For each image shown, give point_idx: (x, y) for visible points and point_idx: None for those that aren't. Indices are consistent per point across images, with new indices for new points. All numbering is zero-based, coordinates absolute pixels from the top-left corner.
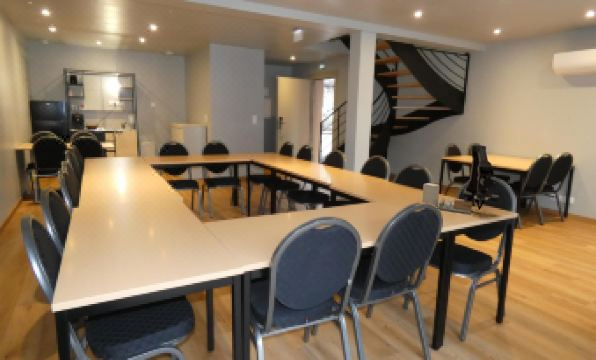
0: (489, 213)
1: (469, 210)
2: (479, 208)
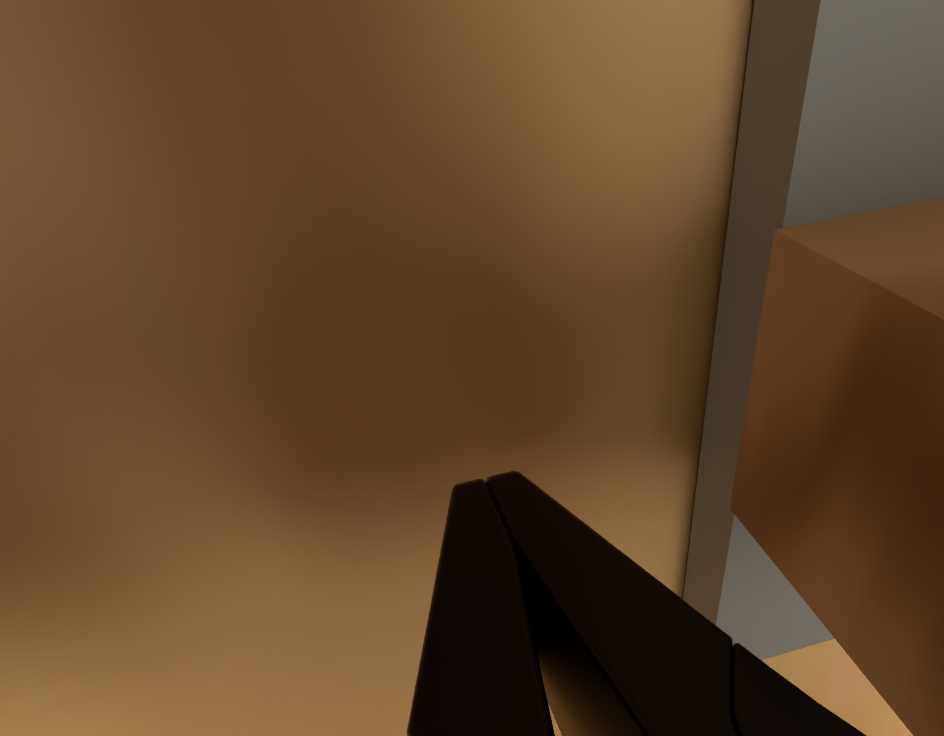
0: (155, 657)
1: (843, 224)
2: (496, 518)
